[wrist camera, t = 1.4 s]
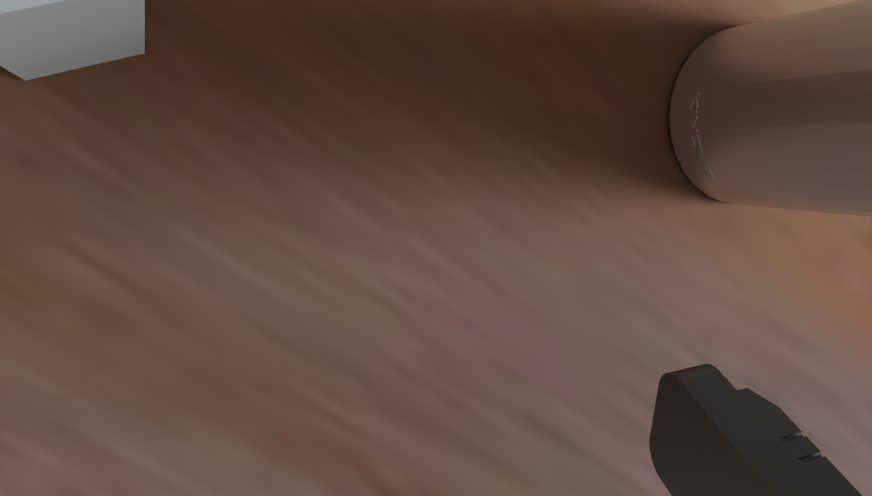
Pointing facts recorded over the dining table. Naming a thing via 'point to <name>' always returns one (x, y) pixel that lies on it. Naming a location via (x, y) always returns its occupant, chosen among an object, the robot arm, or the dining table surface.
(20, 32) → the post
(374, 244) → the dining table surface
